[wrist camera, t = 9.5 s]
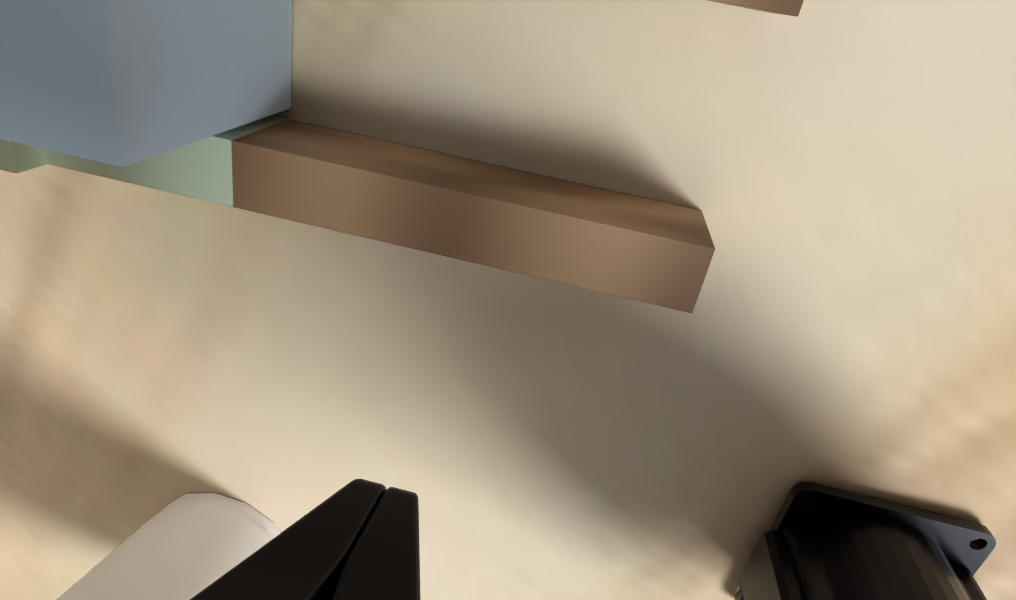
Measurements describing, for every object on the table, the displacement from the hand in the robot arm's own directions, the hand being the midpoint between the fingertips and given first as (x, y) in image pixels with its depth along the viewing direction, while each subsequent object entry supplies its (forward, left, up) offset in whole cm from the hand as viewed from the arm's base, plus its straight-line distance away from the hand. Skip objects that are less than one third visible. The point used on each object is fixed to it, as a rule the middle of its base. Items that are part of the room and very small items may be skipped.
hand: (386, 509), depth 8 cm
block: (+10, -4, -12) cm, 16 cm away
